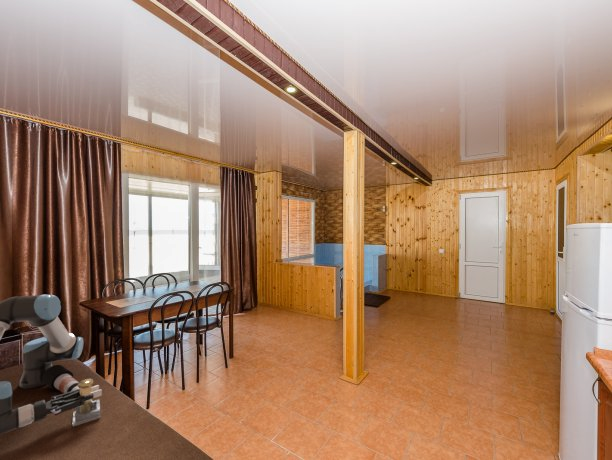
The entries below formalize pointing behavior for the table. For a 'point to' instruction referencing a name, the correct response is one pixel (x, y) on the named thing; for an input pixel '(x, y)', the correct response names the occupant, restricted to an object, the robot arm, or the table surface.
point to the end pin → (85, 389)
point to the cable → (60, 379)
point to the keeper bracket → (86, 414)
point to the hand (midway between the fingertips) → (100, 390)
